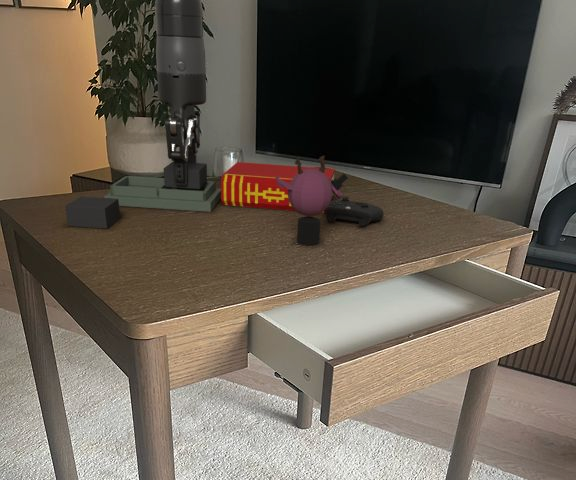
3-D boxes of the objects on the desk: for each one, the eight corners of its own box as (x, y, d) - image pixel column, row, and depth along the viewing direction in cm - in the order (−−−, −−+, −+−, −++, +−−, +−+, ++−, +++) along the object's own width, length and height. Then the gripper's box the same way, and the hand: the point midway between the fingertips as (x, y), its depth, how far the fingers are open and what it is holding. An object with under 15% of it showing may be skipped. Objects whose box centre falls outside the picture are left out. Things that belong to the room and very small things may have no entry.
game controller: (385, 213, 99) (382, 192, 94) (377, 242, 98) (373, 222, 93) (330, 205, 102) (324, 185, 97) (321, 233, 101) (315, 214, 96)
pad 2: (164, 186, 100) (163, 168, 99) (173, 179, 105) (172, 161, 104) (199, 189, 100) (199, 170, 98) (207, 181, 105) (206, 163, 104)
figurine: (343, 239, 89) (350, 154, 83) (323, 254, 83) (330, 164, 77) (294, 231, 92) (298, 148, 86) (271, 244, 86) (273, 156, 80)
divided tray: (104, 205, 101) (102, 186, 99) (124, 191, 109) (122, 174, 108) (210, 211, 100) (210, 193, 98) (221, 197, 108) (221, 180, 107)
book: (221, 205, 103) (220, 175, 101) (237, 189, 114) (237, 161, 111) (326, 214, 101) (328, 184, 99) (332, 196, 112) (334, 169, 110)
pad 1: (67, 226, 90) (64, 205, 88) (83, 215, 95) (80, 196, 93) (107, 228, 89) (104, 208, 88) (120, 218, 94) (118, 198, 93)
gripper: (169, 66, 100) (174, 171, 109) (144, 71, 88) (152, 188, 96) (214, 68, 100) (215, 173, 108) (194, 73, 87) (198, 191, 96)
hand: (185, 180), depth 102 cm, fingers closed on pad 2, 6 cm apart
